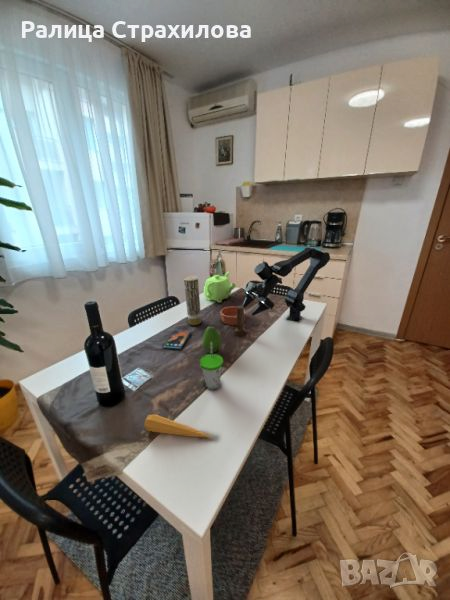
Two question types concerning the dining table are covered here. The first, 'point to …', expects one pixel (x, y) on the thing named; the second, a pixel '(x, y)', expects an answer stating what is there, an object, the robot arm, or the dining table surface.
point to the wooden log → (192, 300)
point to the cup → (211, 369)
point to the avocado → (211, 339)
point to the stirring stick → (240, 321)
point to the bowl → (230, 315)
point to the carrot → (170, 427)
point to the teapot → (218, 288)
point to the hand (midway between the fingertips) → (247, 311)
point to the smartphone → (177, 339)
